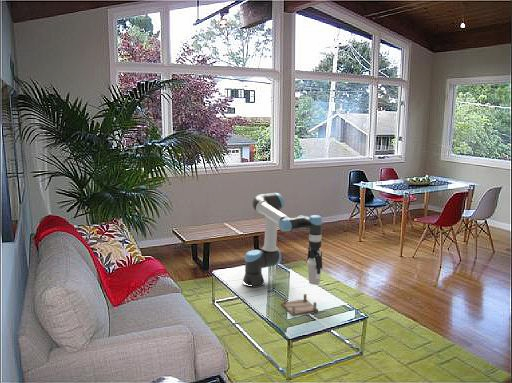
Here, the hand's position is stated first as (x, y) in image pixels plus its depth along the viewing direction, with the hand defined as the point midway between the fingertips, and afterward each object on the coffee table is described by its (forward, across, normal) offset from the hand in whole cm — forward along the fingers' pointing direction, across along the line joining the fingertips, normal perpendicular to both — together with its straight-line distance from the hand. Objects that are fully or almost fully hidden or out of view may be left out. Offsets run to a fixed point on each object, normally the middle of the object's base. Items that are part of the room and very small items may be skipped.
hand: (314, 276), depth 263 cm
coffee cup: (+4, 0, 0) cm, 4 cm away
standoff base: (+19, +1, -10) cm, 22 cm away
